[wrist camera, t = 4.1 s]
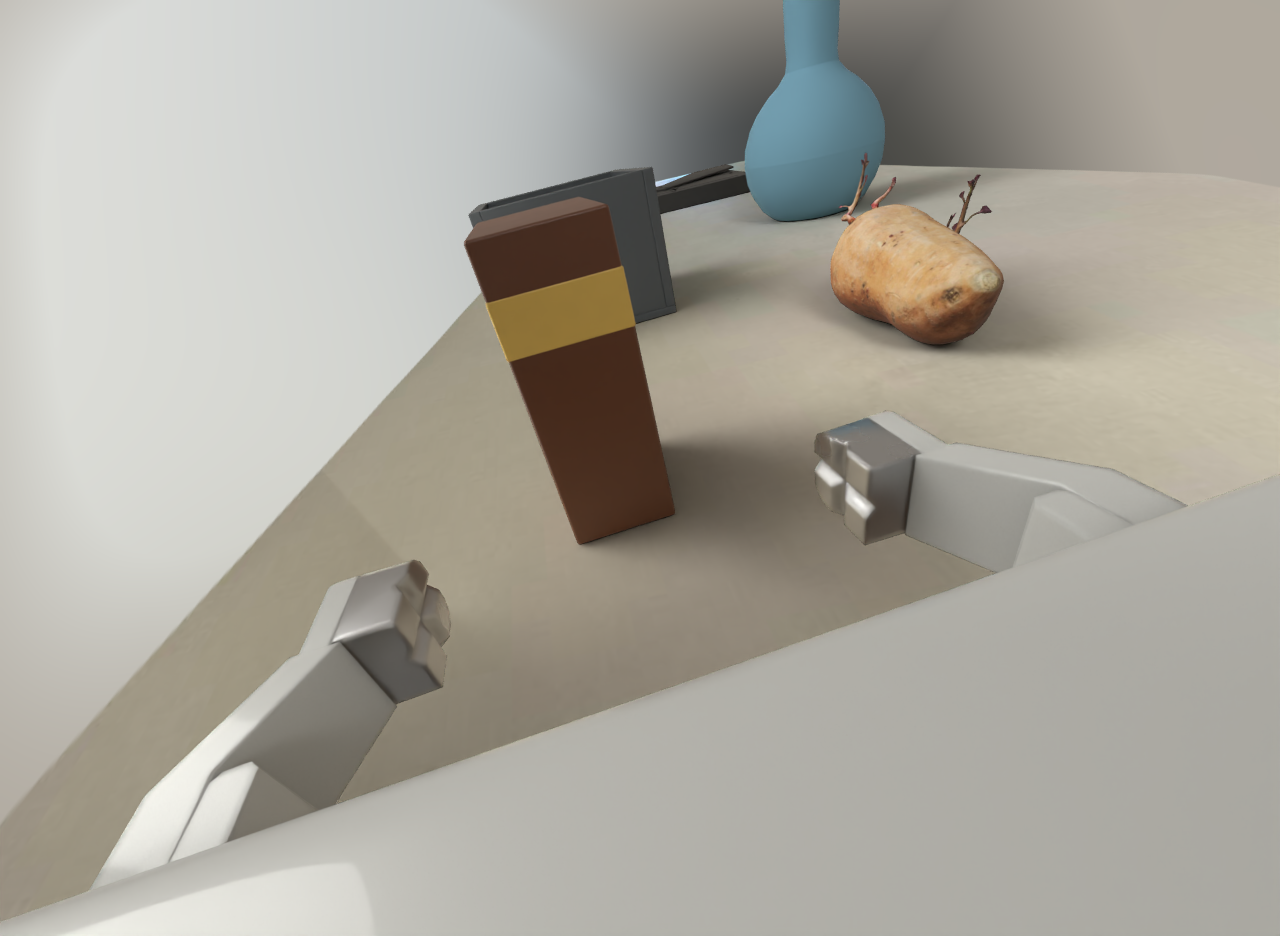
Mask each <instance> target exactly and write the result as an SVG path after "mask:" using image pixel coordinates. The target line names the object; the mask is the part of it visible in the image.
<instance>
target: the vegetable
mask: <svg viewBox="0 0 1280 936" xmlns="http://www.w3.org/2000/svg"><path fill="white" fill-rule="evenodd" d="M861 163H862V165H863V169H862V174H861V178H860V182H859V186H858V190H857V193H856V196H855V199H854V202H853V204H852V205H851V206H841V205H840V207H839V208H841V207H848V209H849V211H848V213H847V214H845V215H844V216H843V217H842V218H841V220H842V221H848V223H849V226H848V227H847V228H846V229H845V230H844V232H843V234H842V236H841V237H840V239H839V241H838V243H837V246H836V248H835V251H834V253H833V256H832V259H831V285H832V288H833V291H834V293H835V295H836V297H837V298H838V300H839V301H840V302H841V303H842V304H843V305H845V306H846V307H847V308H849V309H851V310H852V311H854V312H856V313H858V314H860V315H863V316H865V317H868V318H871V319H874V320H879V321H883V322H886V323H889V324H892V325H893V326H894V327H896V328H897V329H898V330H899V331H901V332H903V333H904V334H906V335H907V336H909V337H910V338H912V339H914V340H917V341H919V342H923V343H927V344H946V343H951V342H955V341H959V340H963V339H964V338H966V337H968V336H970V335H972V334H974V333H975V332H976V331H977V330H978V329H979V328H980V327H981V326H982V325H983V324H984V323H985V321H986V320H987V319H988V317H989V315H990V313H991V311H992V309H993V307H994V305H995V303H996V301H997V299H998V296H999V294H1000V292H1001V290H1002V287H1003V282H1004V280H1003V275H1002V273H1001V271H1000V269H999V268H998V267H997V266H996V265H995V264H994V263H993V261H992V260H991V259H990V258H989V257H988V256H987V255H986V254H985V253H984V252H983V251H982V250H981V249H979V248H978V247H977V246H975V245H974V244H973V243H971V242H970V241H969V240H968V239H966V238H965V237H963V236H962V235H960V234H959V233H960V230H961V228H962V227H963V226H964V224H966V223H967V222H968V220H969V219H970V218H971V217H972V216H974V215H976V214H979V213H991V212H992V211H991V210H990V209H989V208H988V207H987V206H983V207H982V209H981V210H980V212H977V213H975V214H973V215H971V216H970V218H969V219H968V220H967V221H964V218H965V214H966V210H967V208H968V203H969V201H970V197H971V195H972V191H973V190H974V188H975V185H976V183H977V180H978V179H979V177H980V176H981V175H977V176H976V177H975V178H974V179H975V180H976V181H975V180H972V181H968V184H969V187H970V192H969V194H968V196H967V199H966V202H965V199H964V197H963V195H964V192H965V191H963V192H961V194H960V195H959V197H961V198H962V200H963V202H964V205H963V209H962V212H961V215H960V219H959V221H958V223H956V224H954V226H953V227H952V229H953V230H951V229H950V228H948V227H949V224H950V222H951V220H952V219H953V217H954V216H955V214H956V213H955V214H954V215H953V216H952V215H951V217H950V219H949V221H950V222H948V224H947V227H946V226H944V225H942V224H940V223H939V222H937V221H935V220H934V219H933V218H931V217H930V216H929V215H928V214H926V213H924V212H922V211H920V210H918V209H916V208H914V207H910V206H906V205H901V204H892V205H888V206H883V207H878V205H879V202H881V200H882V199H884V198H885V197H886V196H887V194H888V193H889V192H890V191H891V189H892V188H893V186H894V185H895V183H896V177H894V178H893V180H892V184H891V186H890V187H889V188H888V190H887V191H886V192H885V193H884V194H883V195H882V196H881V197H879V198H878V199H876V200H875V201H874V202H873V204H871V206H872V210H869V211H867V212H865V213H863V214H862V215H860V216H858V217H857V218H856V219H855V218H854V217H852V216H851V214H852V212H853V210H854V208H855V207H856V204H857V202H858V200H859V198H860V196H861V192H862V189H863V187H864V185H865V182H866V180H867V177H868V175H866V176H865V178H864V173H865V168H866V167H867V165H868V163H869V161H868V160H867V153H865V154H864V160H862V159H861ZM864 179H865V182H864V184H863V186H862V183H863V180H864ZM974 183H975V184H974ZM973 185H974V186H973ZM861 187H862V188H861Z"/></svg>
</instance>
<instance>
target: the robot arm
mask: <svg viewBox="0 0 1280 936" xmlns="http://www.w3.org/2000/svg"><path fill="white" fill-rule="evenodd" d="M814 452H815V453H816V454H817V455H818V456H819V457H820V458H821V460H820V462H819V463H818V465H817V467H816V468H815V484H816V487H817V490H818V493H819V496H820V497H821V499H822V501H823V502H824V504H825V505H826V506H827V507H828V508H829V509H830V510H831V511H832V512H835V513H838V514H842V515H844V525H845V526H846V527H847V528H848V529H849V530H850V531H851V532H852V533H853V534H854V535H855V536H856V537H857V538H858V539H859V540H860V541H861V542H862V543H863V544H864V545H867V544H871V543H874V542H877V541H880V540H884V539H887V538H890V537H893V536H897V535H900V534H903V533H905V535H907V536H909V537H912V538H914V539H916V540H919V541H921V542H923V543H926V544H928V545H931V546H933V547H935V548H938V549H940V550H943V551H945V552H947V553H950V554H952V555H955V556H957V557H959V558H962V559H964V560H967V561H969V562H971V563H974V564H976V565H978V566H981V567H983V568H986V569H988V570H990V571H993V572H995V574H993V575H990V576H987V577H984V578H981V579H978V580H975V581H973V582H970V583H967V584H964V585H961V586H958V587H955V588H953V589H950V590H947V591H944V592H941V593H938V594H935V595H933V596H930V597H927V598H924V599H921V600H918V601H915V602H913V603H910V604H907V605H904V606H901V607H898V608H895V609H893V610H890V611H887V612H884V613H881V614H878V615H875V616H873V617H870V618H867V619H864V620H861V621H858V622H855V623H852V624H850V625H847V626H844V627H841V628H838V629H835V630H832V631H830V632H827V633H824V634H821V635H818V636H815V637H812V638H810V639H807V640H804V641H801V642H798V643H795V644H792V645H790V646H787V647H784V648H781V649H778V650H775V651H772V652H770V653H767V654H764V655H761V656H758V657H755V658H752V659H749V660H747V661H744V662H741V663H738V664H735V665H732V666H730V667H727V668H724V669H721V670H718V671H715V672H712V673H710V674H707V675H704V676H701V677H698V678H695V679H692V680H690V681H687V682H684V683H681V684H678V685H675V686H672V687H670V688H667V689H664V690H661V691H658V692H655V693H652V694H650V695H647V696H644V697H641V698H638V699H635V700H632V701H630V702H627V703H624V704H621V705H618V706H615V707H612V708H610V709H607V710H604V711H601V712H598V713H595V714H592V715H590V716H587V717H584V718H581V719H578V720H575V721H572V722H570V723H567V724H564V725H561V726H558V727H555V728H552V729H550V730H547V731H544V732H541V733H538V734H535V735H532V736H530V737H527V738H524V739H521V740H518V741H515V742H512V743H510V744H507V745H504V746H501V747H498V748H495V749H492V750H490V751H487V752H484V753H481V754H478V755H475V756H472V757H470V758H467V759H464V760H461V761H458V762H455V763H452V764H450V765H447V766H444V767H441V768H438V769H435V770H432V771H430V772H427V773H424V774H421V775H418V776H415V777H412V778H410V779H407V780H404V781H401V782H398V783H395V784H392V785H390V786H387V787H384V788H381V789H378V790H375V791H372V792H370V793H367V794H364V795H361V796H358V797H355V798H352V799H350V800H347V801H344V802H341V803H338V804H336V802H337V800H338V799H339V797H340V796H341V794H342V793H343V791H344V789H345V788H346V786H347V785H348V783H349V781H350V780H351V778H352V777H353V775H354V774H355V772H356V770H357V769H358V767H359V766H360V764H361V763H362V761H363V759H364V758H365V756H366V755H367V753H368V751H369V750H370V748H371V747H372V745H373V744H374V742H375V740H376V739H377V737H378V736H379V734H380V733H381V731H382V729H383V728H384V726H385V725H386V723H387V721H388V720H389V718H390V717H391V715H392V714H393V712H394V710H395V709H396V707H397V706H396V705H395V704H398V703H401V702H404V701H406V700H409V699H412V698H415V697H417V696H420V695H423V694H425V693H428V692H431V691H434V690H436V689H439V688H442V687H443V682H444V675H445V668H446V660H447V655H446V654H445V652H444V651H443V650H442V648H441V647H442V646H443V645H444V643H445V642H446V641H447V639H448V638H449V637H450V628H451V621H450V614H449V609H448V606H447V603H446V601H445V598H444V597H443V595H442V594H441V592H440V590H438V589H436V588H434V587H431V586H429V585H427V581H428V576H429V573H428V572H427V570H426V569H425V568H424V566H423V565H422V563H421V562H420V561H417V560H411V561H407V562H404V563H401V564H397V565H394V566H390V567H387V568H383V569H380V570H377V571H373V572H370V573H366V574H363V575H361V576H356V577H353V578H350V579H347V580H343V581H340V582H337V583H335V584H333V585H332V586H330V587H329V588H328V590H327V593H326V595H325V597H324V599H323V602H322V604H321V606H320V608H319V611H318V613H317V615H316V617H315V620H314V622H313V624H312V626H311V628H310V631H309V633H308V635H307V637H306V640H305V642H304V644H303V646H302V649H301V651H300V653H299V655H296V656H293V657H290V658H289V659H288V660H287V661H286V662H285V663H283V664H282V665H281V666H280V667H279V668H278V669H277V670H276V671H275V672H274V673H273V674H272V675H271V676H270V677H269V678H268V679H267V680H266V681H265V682H264V683H262V684H261V685H260V686H259V687H258V688H257V689H256V690H255V691H254V692H253V693H252V694H251V695H250V696H249V697H248V698H247V699H246V700H245V701H244V702H243V703H241V704H240V705H239V706H238V707H237V708H236V709H235V710H234V711H233V712H232V713H231V714H230V715H229V716H228V717H227V718H226V719H225V720H224V721H223V722H222V723H220V724H219V725H218V726H217V727H216V728H215V729H214V730H213V731H212V732H211V733H210V734H209V735H208V736H207V737H206V738H205V739H204V740H203V741H202V742H201V743H199V744H198V745H197V746H196V747H195V748H194V749H193V750H192V751H191V752H190V753H189V754H188V755H187V756H186V757H185V758H184V759H183V760H182V761H181V762H180V763H178V764H177V765H176V766H175V767H174V768H173V769H172V770H171V771H170V772H169V773H168V774H167V775H166V776H165V777H164V778H163V779H162V780H161V781H160V782H159V783H157V784H156V785H155V786H154V787H153V788H152V789H151V790H150V791H149V792H148V793H147V794H146V795H145V797H144V798H143V800H142V802H141V803H140V805H139V807H138V809H137V810H136V812H135V814H134V815H133V817H132V819H131V820H130V822H129V824H128V825H127V827H126V829H125V830H124V832H123V834H122V836H121V837H120V839H119V841H118V842H117V844H116V846H115V847H114V849H113V851H112V852H111V854H110V856H109V858H108V859H107V861H106V863H105V864H104V866H103V868H102V869H101V871H100V873H99V874H98V876H97V878H96V879H95V881H94V883H93V885H92V886H91V888H90V890H89V891H87V892H84V893H81V894H78V895H75V896H73V897H70V898H67V899H64V900H61V901H58V902H55V903H53V904H50V905H47V906H44V907H41V908H38V909H35V910H33V911H30V912H27V913H24V914H21V915H18V916H15V917H13V918H10V919H7V920H4V921H1V922H0V936H1280V474H1278V475H1275V476H1273V477H1270V478H1267V479H1264V480H1261V481H1258V482H1255V483H1253V484H1250V485H1247V486H1244V487H1241V488H1238V489H1235V490H1233V491H1230V492H1227V493H1224V494H1221V495H1218V496H1215V497H1213V498H1210V499H1207V500H1204V501H1201V502H1198V503H1195V504H1193V505H1190V506H1188V505H1186V504H1184V503H1182V502H1180V501H1178V500H1176V499H1174V498H1172V497H1170V496H1168V495H1165V494H1163V493H1161V492H1159V491H1157V490H1155V489H1153V488H1151V487H1149V486H1147V485H1145V484H1143V483H1141V482H1139V481H1137V480H1134V479H1132V478H1130V477H1128V476H1126V475H1124V474H1122V473H1120V472H1118V471H1116V470H1114V469H1110V468H1104V467H1098V466H1092V465H1086V464H1080V463H1074V462H1068V461H1062V460H1056V459H1050V458H1044V457H1038V456H1033V455H1027V454H1021V453H1015V452H1009V451H1003V450H997V449H991V448H985V447H979V446H973V445H967V444H961V443H953V444H950V445H948V444H946V443H945V442H943V441H941V440H940V439H938V438H936V437H935V436H933V435H931V434H930V433H928V432H926V431H925V430H923V429H921V428H920V427H918V426H916V425H915V424H913V423H911V422H910V421H908V420H906V419H905V418H903V417H901V416H900V415H898V414H896V413H895V412H893V411H883V412H880V413H877V414H874V415H871V416H868V417H866V418H863V419H862V420H859V421H856V422H853V423H849V424H846V425H843V426H840V427H837V428H834V429H831V430H828V431H825V432H822V433H819V434H817V436H816V439H815V448H814Z"/></svg>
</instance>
